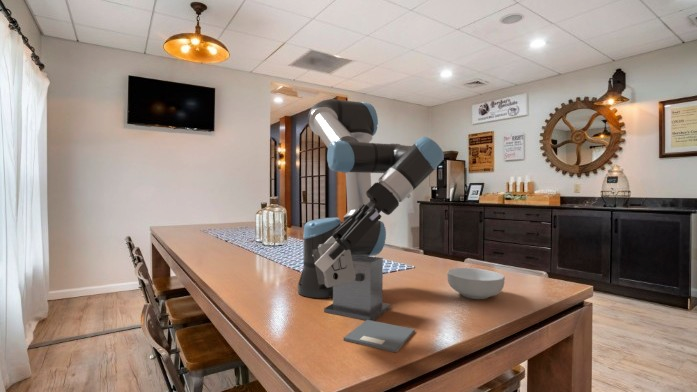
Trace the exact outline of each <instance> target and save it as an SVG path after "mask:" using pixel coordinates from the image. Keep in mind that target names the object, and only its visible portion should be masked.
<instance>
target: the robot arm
mask: <svg viewBox="0 0 697 392" xmlns="http://www.w3.org/2000/svg"><path fill="white" fill-rule="evenodd" d="M307 115H308V116H307V123H308V127H309V128H310V130H311V132H312V133H314V135H316V136H318V137H319V138H320V139H321V140H322V142H323V143H324V145H325V146H326V148H327V155H326V160H327V164H328V165H327V167H328V168H329V170H330V171H332V172H336V173H337V172H339V173H343V174H345V185H346V205H347V212H346V213H345V215H343V221H342V220H341V218H340V217H324V218H317V219H312V220H310V221H307V222H306V223H305V224H304V226H303V227H304V228H303V234H302V235H303V236H302V238H303V268H302V270H301V275H300V277H299V280H298V284H297V293H298V295H301V296H304V297H307V298H313V299H325V298H327V299H328V298H333V286H332V287H328V288H327V287H326V286H325V284H319V283H318V278H317V273H316V267H315V265H316V266H317V267H318V268H319V269H320V271H322V272H323V273H324V272H325V271H326V270H327V269H328V268H329V267H330V266H331V265H332V264H333V263H334V262H335V261H336V260H337V259H338V258H339V257H340V256H341V255H342V254H343V253H344V252H345V250H348V249H349V250H350V251H351V255H360V256H369V257H376V256H378V255H379V254H380V253H381V252H382V251H383V249H384V247H385V244H386V241H387V240H386V239H387V237H386V236H387V230H386V226H385V224H384V223H385V222H383V221H381V218H382V215H381V214H380V213H381V212H382V213H384V215H387V216H389V215H392V213H393V212H394V211H395V210H396V209H397V208H398V207H399V206H400V205H399V204H400V203H403V201H405V199H406V198H407V199H409V198H411V194H412V193H413V191H414V190H415V189H417V187H418V186H419V185H421V184H422V183H423V182H424V181H425V180H426V179H427V178H428V177H429V176H430V175H431V174H432V172H434V171H435V170H436V169H437V167H438V166H439V165H440V164H441V163H442V162H443V161H444V158H445V153H444V151H443V149H442V148H441V147H440V145H439V144H438V143H437V142H436V141H434V140H433V139H432V138H430V137H428V136H422V137H420V138H419V139H418V140H416V141H414V143H413V145H404V144H401V143H381V142H380V143H377V142H375V143H374V142H371V141H372V140H373V136H375V135H376V133H377V131H378V125H379V122H378V121H379V120H378V119H379V118H378V113H377V111H376V109H375V107H374V106H373V105H372V104H371V103H368V102H363V101H353V100H352V101H351V100H343V99H342V100H341V99H333V98H331V99H324V100H321V101H319V102H316V103H315V104H314V105H313V106H312V107H311V108H310V110H309V112H308V114H307ZM371 174H382V175H381V176H379V178H378V182H375V183H373V184H372V176H371ZM332 242H335V243H334V244H333V245H332V246H331V247H330V248H329V249H328V250H327V251H326V252H325V253H324V254H323V255H322V256H321V257H320V258H319V259H318V260H317V261H316V262H314V257H313V252H312V251H313V250H315V249H318V246H319V245H320V244H326V243H332ZM337 242H338V243H339V244H338V243H337Z"/></svg>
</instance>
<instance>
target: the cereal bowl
mask: <svg viewBox="0 0 697 392" xmlns="http://www.w3.org/2000/svg"><path fill="white" fill-rule="evenodd" d="M446 276H447V282H448V284H449V286H450V288H451V289H452V290H454V291H456V292H457V293H460V295H461V296H463V297H465V298H467V299H474V300H486V299H488V298H489V297H494V296H497V295H498V294H500V293H501V291H502V290H503V288H504V287H505V275H504V274H502V273H499V272H496V271H493V270H489V269H483V268H482V269H481V268H477V267H454V268H449V269H448V270H447V273H446Z"/></svg>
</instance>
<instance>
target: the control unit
mask: <svg viewBox="0 0 697 392" xmlns="http://www.w3.org/2000/svg"><path fill="white" fill-rule="evenodd" d="M351 256H352V261H353V266H354V271H355V276H356V278H355V280H352V281H349V282H345V283H342V284H339V285H335V286H333V297H332V303H331V304H330V305H327V306H326V307H324V309H323V311H324V313H327V314H331V315H336V316H337V315H338V316H343V317H348V318H351V319H358V320H363V321H366V320H371V321H375V320H376V319H378V318H379V317H380V316H381V315H383V314H384V313H385V312H386V311H388V310H389V309H391V304H390V303H387V302H383V286H384V285H383V280H384V279H383V278H384V276H383V274H384V272H383V269H384V268H383V267H384V265H383V264H384V263H383V262H384V260H383V259H384V258H383V257H378V256H377V257H376V256H360V255H351Z"/></svg>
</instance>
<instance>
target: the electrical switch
mask: <svg viewBox="0 0 697 392" xmlns="http://www.w3.org/2000/svg"><path fill="white" fill-rule="evenodd" d="M334 243H335V242H332V243H326V244H320V245H319V246H318V249H315V250H313V251H312V252H313V257H314V262H316V261H317V260H318V259H319V258H320V257H321V256H322V255H323V254H324V253H325V252H326V251H327V250H328V249H329V248H330V247H331V246H332V245H333V244H334ZM337 243H338V242H337ZM338 244H339V243H338ZM315 267H316V273H317V278H318V283H319V284H325V286H326V287H327V288H328V287H332V286H335V285H339V284H342V283H345V282H349V281H352V280H355V278H356V276H355V271H354V266H353V261H352V256H351V251H350V250H349V249H348V250H345V252H344V253H343V254H342V255H341V256H340V257H339V258H338V259H337V260H336V261H335V262H334V263H333V264H332V265H331V266H330V267H329V268H328V269H327V270H326V271H325V272H324V273H323V272H322V271H320V269H319V268H318V267H317V266H316V265H315Z"/></svg>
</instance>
